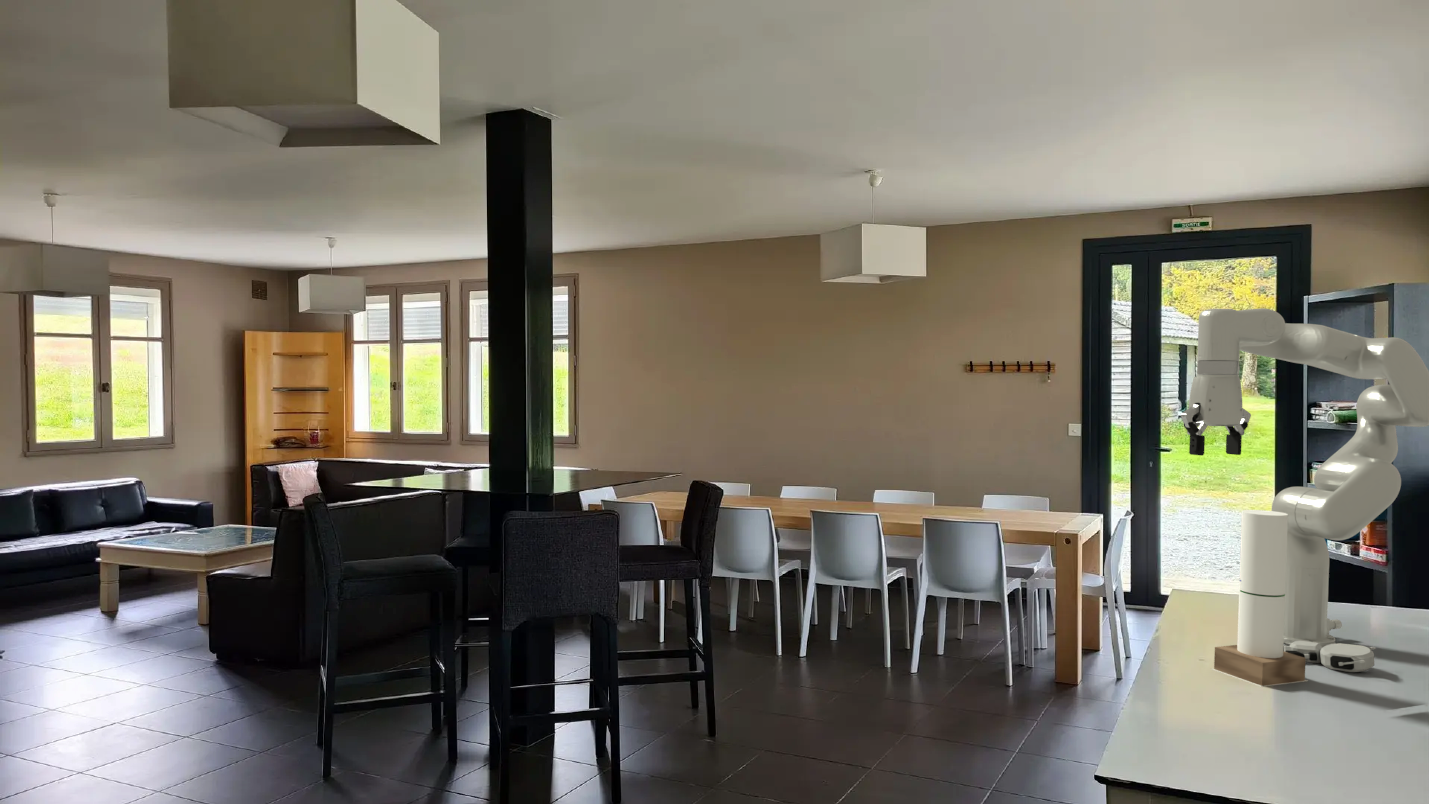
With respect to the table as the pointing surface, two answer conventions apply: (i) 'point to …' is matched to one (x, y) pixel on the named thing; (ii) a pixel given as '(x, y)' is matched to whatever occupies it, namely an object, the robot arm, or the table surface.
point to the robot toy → (1334, 655)
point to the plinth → (1259, 666)
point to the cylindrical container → (1262, 583)
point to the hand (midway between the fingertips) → (1215, 454)
